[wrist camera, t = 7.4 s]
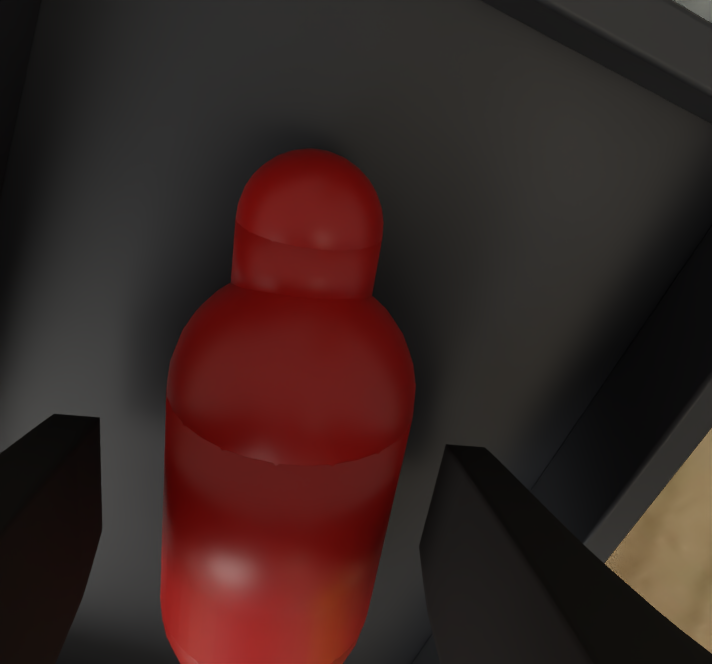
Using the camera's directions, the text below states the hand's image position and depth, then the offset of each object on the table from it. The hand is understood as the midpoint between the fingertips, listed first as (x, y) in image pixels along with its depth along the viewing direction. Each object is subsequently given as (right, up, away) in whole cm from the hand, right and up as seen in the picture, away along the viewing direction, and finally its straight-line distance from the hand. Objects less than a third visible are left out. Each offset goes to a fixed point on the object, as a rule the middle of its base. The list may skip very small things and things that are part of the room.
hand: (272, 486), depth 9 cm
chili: (0, +1, +1) cm, 1 cm away
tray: (0, +1, +2) cm, 2 cm away
